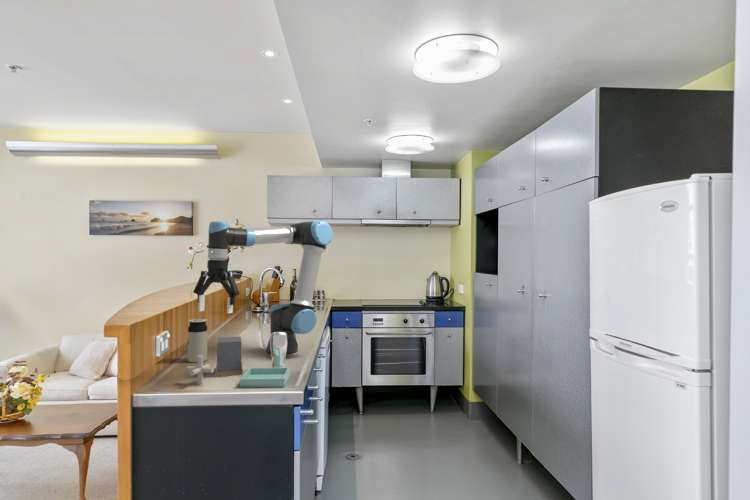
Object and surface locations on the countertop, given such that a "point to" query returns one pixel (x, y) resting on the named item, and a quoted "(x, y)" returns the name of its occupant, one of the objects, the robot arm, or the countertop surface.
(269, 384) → the tray
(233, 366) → the mounted unit
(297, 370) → the countertop surface
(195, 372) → the pipe connector
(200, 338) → the travel mug
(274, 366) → the beer glass
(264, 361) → the countertop surface
